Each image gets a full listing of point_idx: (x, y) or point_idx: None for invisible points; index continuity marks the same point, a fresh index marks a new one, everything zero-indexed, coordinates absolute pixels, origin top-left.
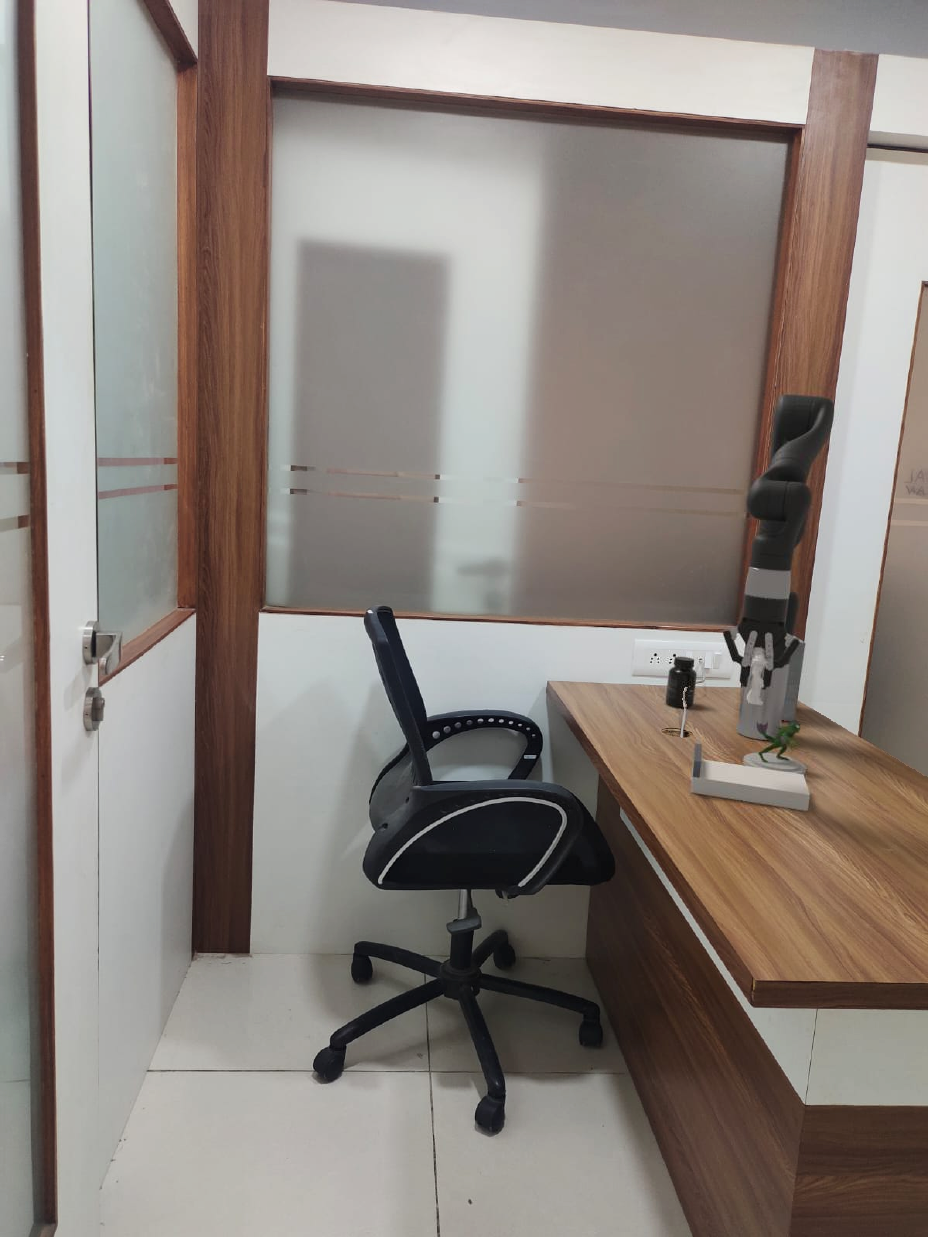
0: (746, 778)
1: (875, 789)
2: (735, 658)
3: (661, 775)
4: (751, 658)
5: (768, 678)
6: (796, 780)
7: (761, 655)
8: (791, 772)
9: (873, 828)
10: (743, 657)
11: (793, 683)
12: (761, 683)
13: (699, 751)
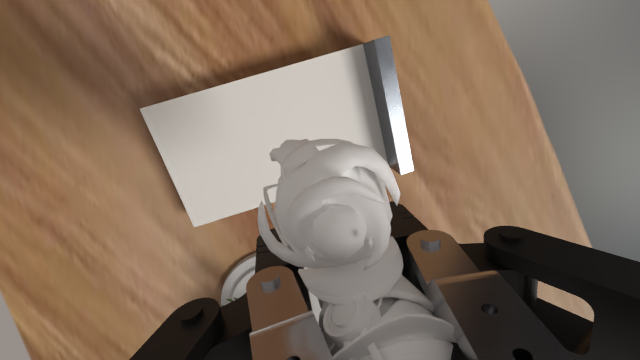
0: (280, 115)
1: (95, 313)
2: (511, 235)
3: (432, 101)
4: (412, 285)
5: (271, 252)
6: (193, 180)
7: (337, 231)
8: (237, 274)
9: (15, 102)
10: (469, 261)
11: None
12: (281, 147)
13: (394, 118)
